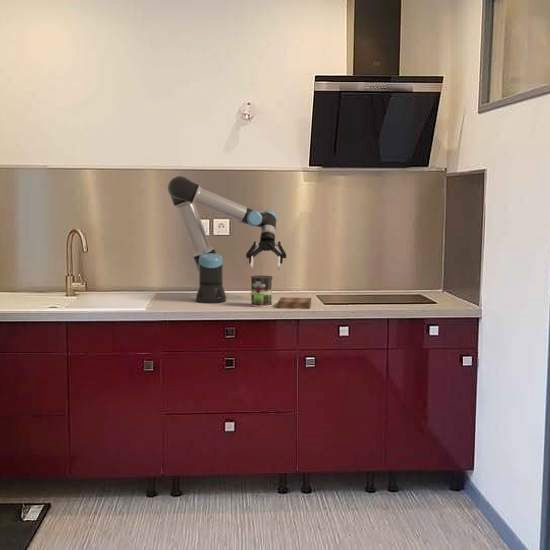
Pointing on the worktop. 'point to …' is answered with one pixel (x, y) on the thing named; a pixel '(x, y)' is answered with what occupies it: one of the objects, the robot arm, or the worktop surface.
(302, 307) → the walnut board
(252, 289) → the coffee can
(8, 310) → the worktop surface
